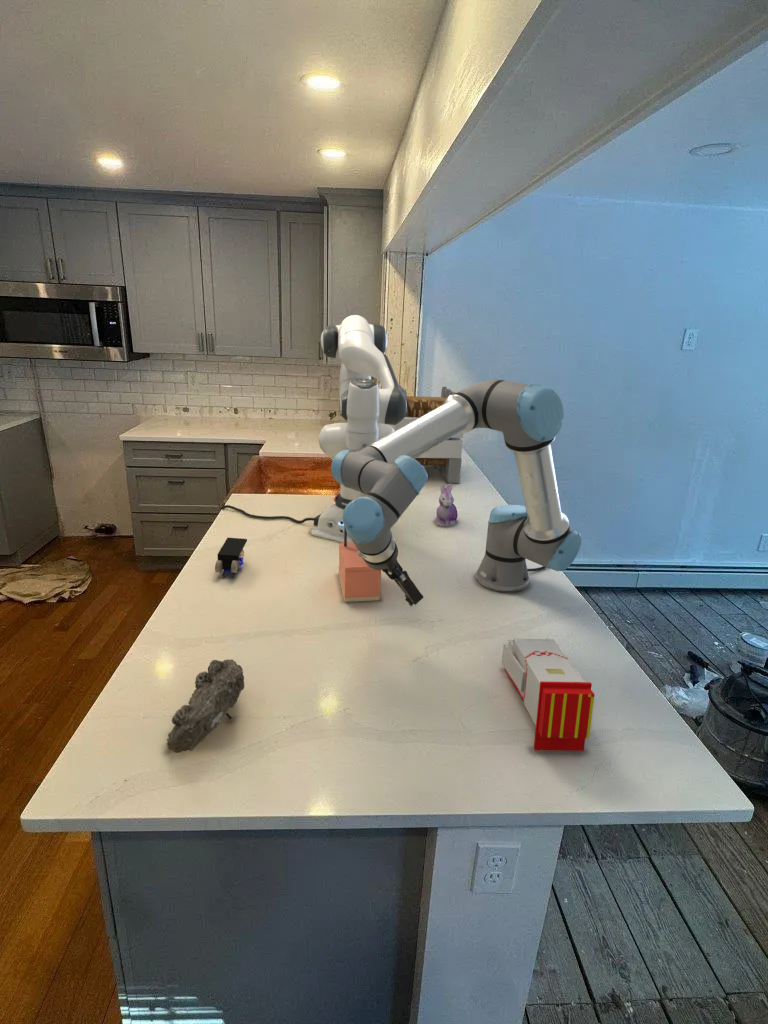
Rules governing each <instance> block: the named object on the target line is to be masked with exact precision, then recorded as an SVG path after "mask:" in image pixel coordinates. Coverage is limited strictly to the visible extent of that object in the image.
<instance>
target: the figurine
mask: <svg viewBox="0 0 768 1024" xmlns="http://www.w3.org/2000/svg"><path fill="white" fill-rule="evenodd" d="M452 489H453V483H449V484H448V485H447V487H445V485H444V484H443V483H441V484H440V494H439V497H438V503H439V506H438V507H437V508H436V513H435V515H436V517H435V521H434V522H435V523H436V524H437V526H440V527H450V526H454V525H455V524H457V520H458V517H459V516H458V514H459V513H458V510H457V507H456V505H455V504H454V502H455V498H454V495H453V493H452Z"/></svg>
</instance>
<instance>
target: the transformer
mask: <svg viewBox="0 0 768 1024" xmlns="http://www.w3.org/2000/svg"><path fill="white" fill-rule="evenodd" d="M399 387H400V389H401V390H402V392H403V393H404V395H405V399H406V403H407V411H406V416H405V418H404V419H403V420H402V421H401V422H399V423H398V424H396V425H390V426H391V427H392V428H393V429H394V430H395V431H396V430H398V429H400V428H402V427H403V426H405V425H407V424H409V423H411V422H412V421H414V420H416V419H418V418H420V417H421V416H423V415H425V414H427V413H429V412H430V411H432V410H434V409H436V408H438V407H439V406H441V405H443V404H444V402H445V400H446V398H447V397H448V396H450V395H452V394H454V393H456V392H455V391H453V390H452V389H451V388H447V386H442V387H441V392H440V393H441V394H440V396H415V395H414V396H413V395H412V396H411V395H407V394H408V393H407V390H406V389H404V388H403V387H402V385H400V384H399ZM388 425H389V424H388ZM463 438H464V433H460V432H459V433H457V434H456V435H454V436H452V437H451V438H449V439H447V440H446V441H444V442H442V443H441V444H439V445H437V446H436V447H434V448H432V449H431V450H429V451H427V452H426V453H424V454H422V455H421V456H419V457H417V458H415V460H416V461H418V462H419V463H420V464H421V465H422V466H423V467H436V468H437V470H438V469H439V473H440V474H441V475H443V478H444V479H445V481H446V482H447V483H449V484H450V483H452V484H455V483H456V484H459V483H461V472H462V461H463V460H462V453H463V442H464V441H463V440H462V439H463Z"/></svg>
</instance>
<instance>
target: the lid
mask: <svg viewBox="0 0 768 1024" xmlns="http://www.w3.org/2000/svg"><path fill="white" fill-rule="evenodd" d="M338 546H339V547H338V549H339V548H340V552H341V556H342V560H343V564H344V568H345V571H366V570H375V569H372V568H370V567H369V566H368V565H367V564H366V563H365V561H364V559H363V558H362V556H361V557H359V556H358V555H357V553H358V552H359V550H358V549H357V547H356V545H355V544H354V542H347V532H346V529H345V527H344V542H339V541H338Z"/></svg>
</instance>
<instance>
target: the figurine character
mask: <svg viewBox="0 0 768 1024" xmlns="http://www.w3.org/2000/svg"><path fill="white" fill-rule="evenodd" d="M247 542H248V538H240V537H226V539H225V541H224V543H223V544H222V546H221V547H220V549H219V551H218V552H217V560H216V562H215V564H214V572H215V573H221V577H222V578H224V577H225V576H226V574H227V573H230V574H231V573H232V574H231V578H234V577H235V575H236V573H237V572H239V571H240V567H242V566H243V565H244V564H245V562H244V558H245V551H244V547H245V546H246V544H247Z"/></svg>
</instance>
